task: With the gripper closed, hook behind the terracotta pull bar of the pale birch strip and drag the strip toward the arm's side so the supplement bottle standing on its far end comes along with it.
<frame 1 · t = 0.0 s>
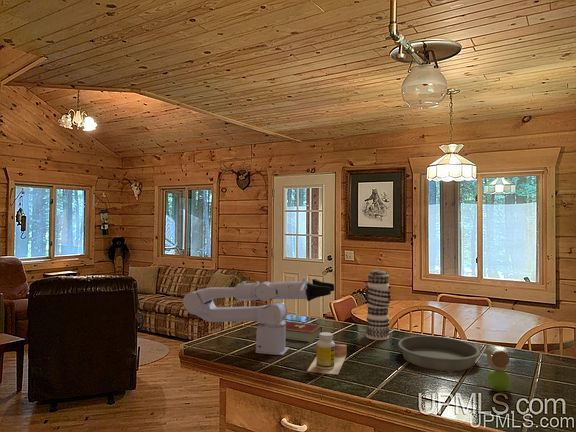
hand: (332, 289, 139), 22 cm above the counter, tool horizontal, fingers open, 7 cm apart
cake pan: (437, 360, 138), on the counter
snail figurine: (497, 391, 113), on the counter
hardcover book: (290, 336, 165), on the counter
supplement bottle: (325, 367, 128), resting on strip
decorative candle: (377, 337, 164), on the counter
strip: (328, 357, 133), point 2 cm above the counter, slide at 0.0 cm, touching supplement bottle
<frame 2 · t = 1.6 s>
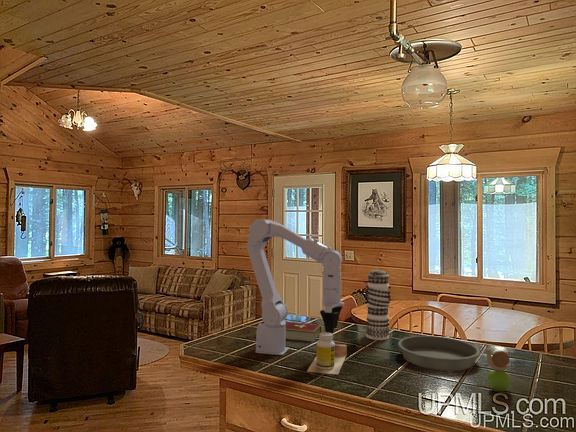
hand: (331, 330, 139), 8 cm above the counter, tool pointing down, fingers open, 7 cm apart
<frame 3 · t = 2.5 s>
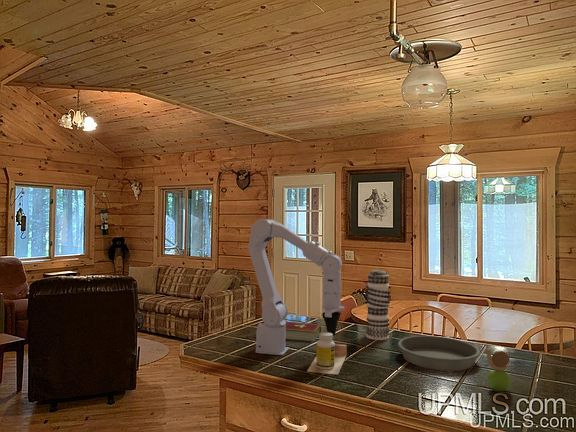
hand: (331, 335, 139), 7 cm above the counter, tool pointing down, fingers closed
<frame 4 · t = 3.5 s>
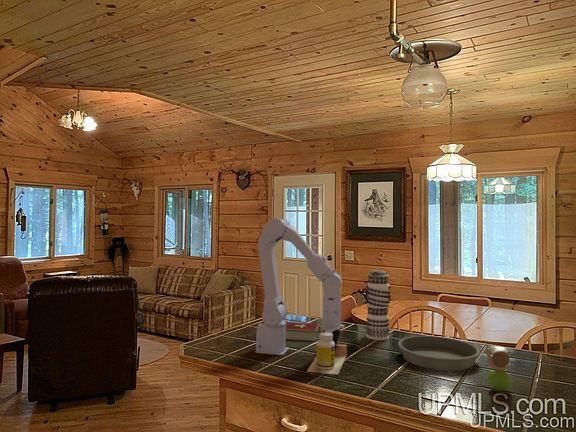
hand: (331, 353, 140), 1 cm above the counter, tool pointing down, fingers closed
strip: (328, 357, 133), point 2 cm above the counter, slide at 0.0 cm, touching supplement bottle, gripper
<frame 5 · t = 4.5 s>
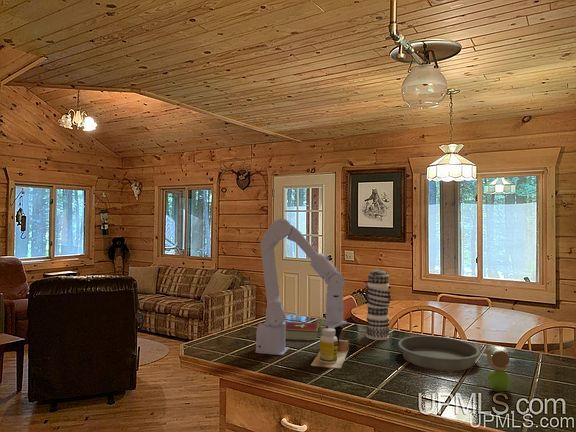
hand: (334, 348, 145), 1 cm above the counter, tool pointing down, fingers closed
supplement bottle: (328, 361, 134), resting on strip
strip: (331, 352, 139), point 2 cm above the counter, slide at 5.4 cm, touching supplement bottle, gripper
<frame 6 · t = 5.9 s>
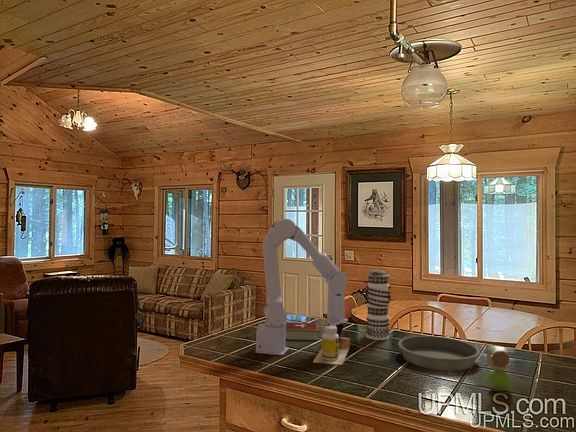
hand: (335, 345, 148), 1 cm above the counter, tool pointing down, fingers closed
supplement bottle: (330, 358, 137), resting on strip
strip: (332, 349, 142), point 2 cm above the counter, slide at 8.6 cm, touching supplement bottle
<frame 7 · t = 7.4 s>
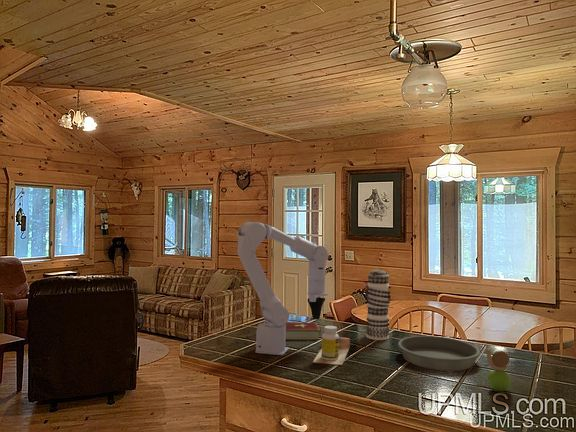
hand: (316, 319, 151), 9 cm above the counter, tool pointing down, fingers closed
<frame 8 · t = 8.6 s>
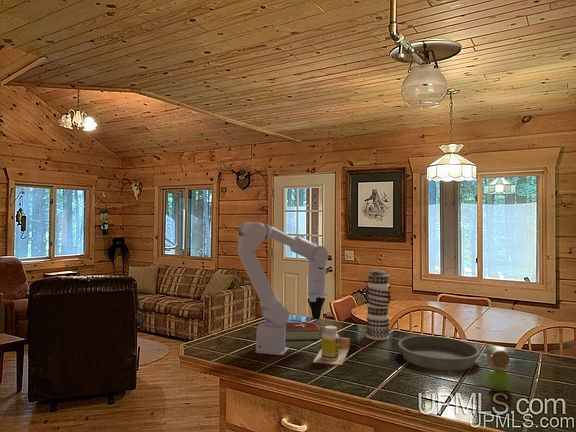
hand: (316, 319, 151), 9 cm above the counter, tool pointing down, fingers closed
at the end: strip slide at 8.6 cm; supplement bottle inside the target area (0.6 cm from its centre), resting on strip; supplement bottle tilted 0° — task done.
